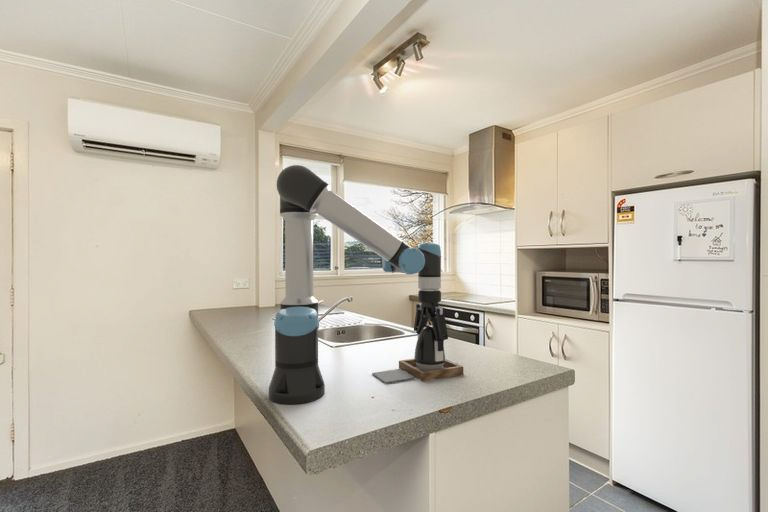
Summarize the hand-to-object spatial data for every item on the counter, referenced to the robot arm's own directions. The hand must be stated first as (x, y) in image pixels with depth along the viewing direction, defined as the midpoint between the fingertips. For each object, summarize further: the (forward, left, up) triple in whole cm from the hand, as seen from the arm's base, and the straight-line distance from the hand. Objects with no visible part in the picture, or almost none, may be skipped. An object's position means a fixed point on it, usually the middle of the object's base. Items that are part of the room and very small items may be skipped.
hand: (430, 356), depth 123 cm
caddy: (0, 0, -5) cm, 5 cm away
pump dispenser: (0, 0, -5) cm, 5 cm away
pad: (-14, 0, -5) cm, 15 cm away
